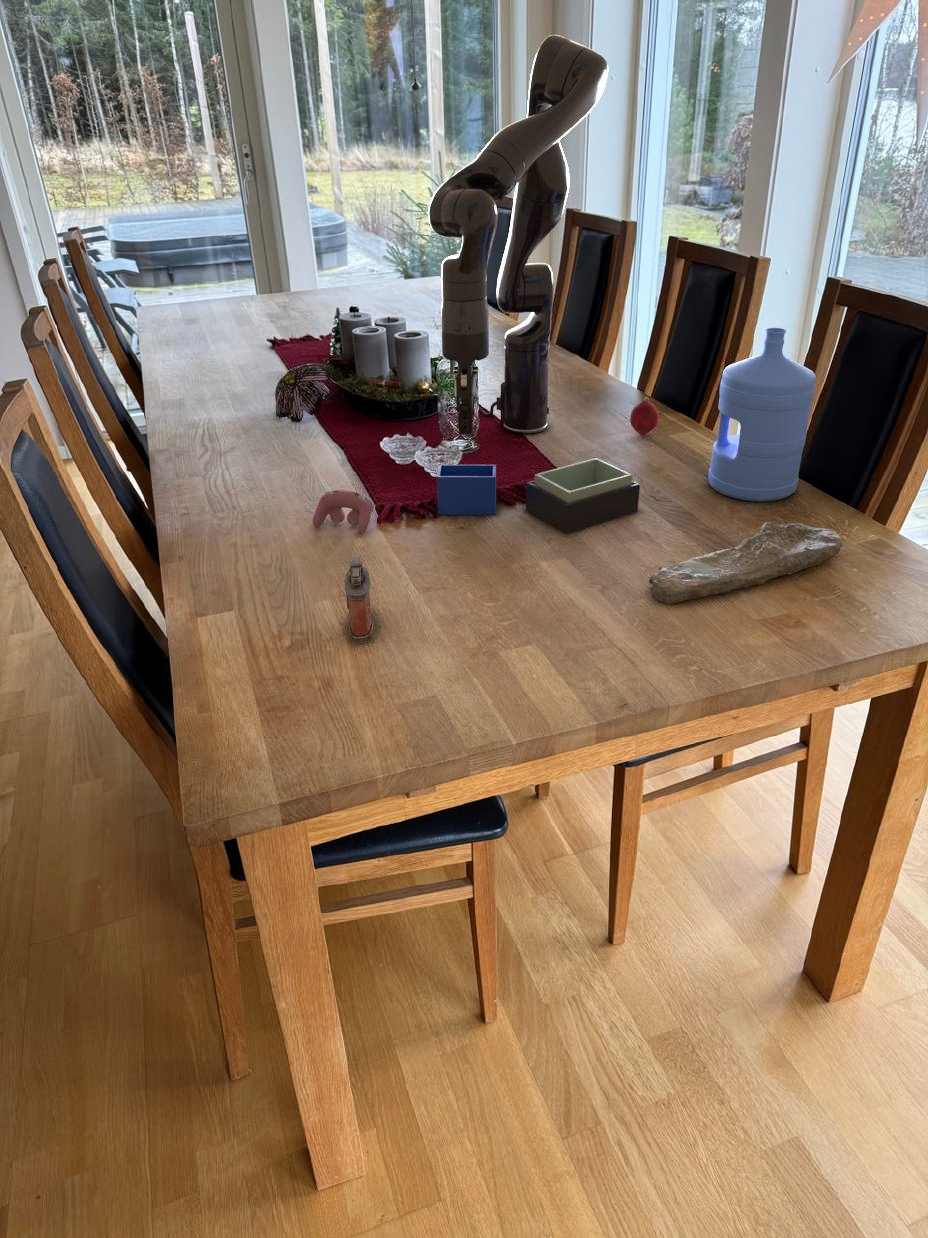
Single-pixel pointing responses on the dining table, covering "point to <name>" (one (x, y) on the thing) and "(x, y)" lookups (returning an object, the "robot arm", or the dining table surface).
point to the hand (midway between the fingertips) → (466, 425)
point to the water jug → (762, 424)
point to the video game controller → (348, 499)
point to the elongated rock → (746, 562)
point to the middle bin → (582, 480)
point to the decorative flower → (301, 391)
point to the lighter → (359, 602)
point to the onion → (644, 417)
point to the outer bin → (581, 507)
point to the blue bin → (466, 489)
